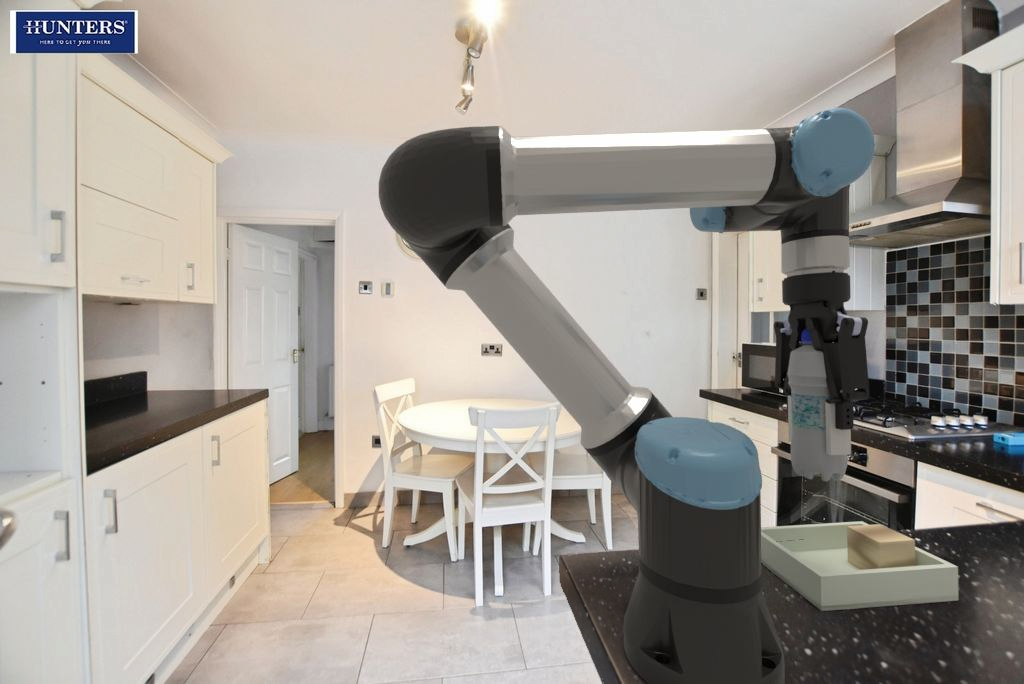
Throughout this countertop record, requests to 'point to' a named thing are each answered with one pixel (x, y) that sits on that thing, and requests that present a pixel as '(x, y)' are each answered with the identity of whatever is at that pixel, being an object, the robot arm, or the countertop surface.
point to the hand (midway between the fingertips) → (818, 447)
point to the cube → (879, 547)
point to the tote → (850, 570)
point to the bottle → (811, 414)
